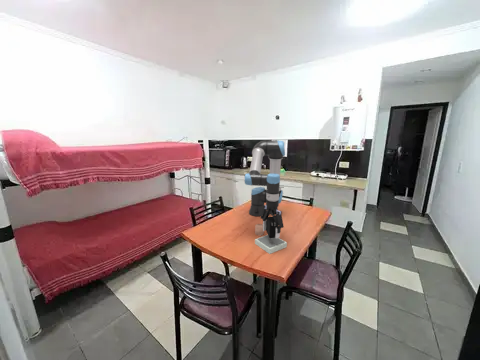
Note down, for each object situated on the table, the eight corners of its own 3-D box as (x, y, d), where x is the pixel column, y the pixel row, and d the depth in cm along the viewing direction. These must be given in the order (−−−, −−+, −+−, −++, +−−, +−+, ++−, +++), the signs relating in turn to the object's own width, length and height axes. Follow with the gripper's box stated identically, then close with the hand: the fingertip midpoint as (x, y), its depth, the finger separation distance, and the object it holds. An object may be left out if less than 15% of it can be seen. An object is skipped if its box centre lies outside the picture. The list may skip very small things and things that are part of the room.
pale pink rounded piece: (253, 233, 142) (253, 225, 141) (259, 231, 145) (260, 223, 144) (258, 236, 137) (258, 228, 136) (265, 234, 140) (265, 226, 139)
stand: (254, 243, 128) (255, 238, 127) (271, 237, 136) (271, 233, 135) (269, 254, 117) (269, 248, 116) (286, 247, 124) (286, 242, 123)
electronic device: (272, 230, 129) (272, 216, 127) (276, 238, 120) (277, 222, 118) (265, 231, 129) (266, 216, 127) (269, 238, 119) (270, 222, 117)
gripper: (255, 196, 127) (254, 228, 132) (282, 206, 108) (280, 243, 113) (264, 194, 131) (263, 225, 136) (291, 203, 112) (289, 239, 117)
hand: (271, 233), depth 124 cm, fingers closed on electronic device, 11 cm apart
